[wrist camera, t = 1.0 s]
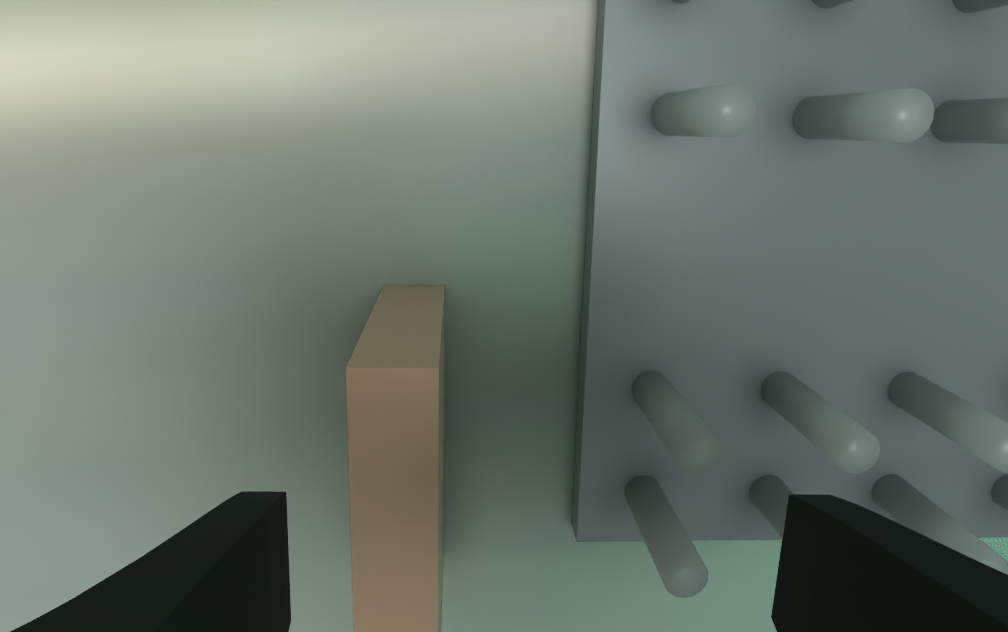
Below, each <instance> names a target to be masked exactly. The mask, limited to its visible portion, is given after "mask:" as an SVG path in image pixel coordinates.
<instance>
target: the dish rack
mask: <svg viewBox="0 0 1008 632" xmlns="http://www.w3.org/2000/svg"><path fill="white" fill-rule="evenodd" d="M789 494H806V495H833V496H836V497H839V498H842V499H844V500H847V501H850V502H852V503H855V504H857V505H859V506H862V507H864V508H866V509H869V510H871V511H873V512H875V513H878V514H880V515H882V516H884V517H886V518H888V519H891V520H893V521H895V522H897V523H899V524H901V525H903V526H905V527H907V528H909V529H912V530H914V531H916V532H918V533H920V534H922V535H924V536H926V537H928V538H930V539H932V540H935V541H937V542H939V543H941V544H943V545H945V546H947V547H949V548H951V549H953V550H955V551H958V552H960V553H962V554H964V555H966V556H968V557H970V558H972V559H975V560H977V561H979V562H981V563H983V564H985V565H988V566H990V567H992V568H994V569H996V570H998V571H1001V572H1003V573H1005V574H1007V575H1008V563H1007V561H1006V560H1005V559H1004V558H1003V557H1002V556H1001V555H999V554H998V553H997V552H995V551H994V550H993V549H992V548H990V547H989V546H988V545H987V544H985V543H984V542H983V541H982V540H980V539H979V538H978V537H1008V0H598V13H597V33H596V52H595V72H594V91H593V111H592V130H591V150H590V169H589V189H588V208H587V228H586V247H585V267H584V286H583V306H582V325H581V345H580V365H579V384H578V404H577V423H576V443H575V462H574V482H573V501H572V521H571V524H572V527H573V531H574V534H575V538H576V541H577V542H597V541H645V543H646V545H647V547H648V550H649V552H650V554H651V556H652V558H653V561H654V563H655V565H656V567H657V570H658V572H659V574H660V576H661V578H662V581H663V583H664V585H665V587H666V589H667V590H668V592H670V593H671V594H672V595H674V596H677V597H691V596H693V595H696V594H697V593H699V592H700V591H701V590H702V589H703V588H704V587H705V585H706V583H707V580H708V571H707V569H706V567H705V565H704V563H703V561H702V560H701V558H700V556H699V554H698V552H697V551H696V549H695V547H694V545H693V543H692V542H691V540H783V533H784V526H785V519H786V512H787V505H788V498H789Z"/></svg>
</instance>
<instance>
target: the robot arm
mask: <svg viewBox="0 0 1008 632" xmlns="http://www.w3.org/2000/svg"><path fill="white" fill-rule="evenodd" d="M771 618H772V620H773V623H774V625H775V627H776V630H777V632H1008V575H1007V574H1005V573H1003V572H1001V571H998V570H996V569H994V568H992V567H990V566H988V565H985V564H983V563H981V562H979V561H977V560H975V559H972V558H970V557H968V556H966V555H964V554H962V553H960V552H958V551H955V550H953V549H951V548H949V547H947V546H945V545H943V544H941V543H939V542H937V541H935V540H932V539H930V538H928V537H926V536H924V535H922V534H920V533H918V532H916V531H914V530H912V529H909V528H907V527H905V526H903V525H901V524H899V523H897V522H895V521H893V520H891V519H888V518H886V517H884V516H882V515H880V514H878V513H875V512H873V511H871V510H869V509H866V508H864V507H862V506H859V505H857V504H855V503H852V502H850V501H847V500H844V499H842V498H839V497H836V496H833V495H806V494H789V498H788V505H787V512H786V519H785V526H784V533H783V540H782V546H781V553H780V560H779V567H778V574H777V581H776V588H775V595H774V602H773V609H772V616H771ZM290 622H291V607H290V581H289V554H288V528H287V502H286V492H240V493H238V494H236V495H234V496H233V497H231V498H229V499H228V500H226V501H225V502H223V503H221V504H220V505H218V506H217V507H215V508H214V509H212V510H211V511H209V512H208V513H206V514H205V515H203V516H202V517H201V518H199V519H198V520H196V521H195V522H193V523H192V524H190V525H189V526H187V527H186V528H184V529H183V530H181V531H180V532H178V533H177V534H175V535H174V536H172V537H171V538H169V539H168V540H166V541H165V542H163V543H162V544H160V545H159V546H157V547H156V548H154V549H153V550H151V551H150V552H148V553H147V554H145V555H144V556H142V557H141V558H139V559H138V560H136V561H134V562H133V563H131V564H129V565H128V566H126V567H124V568H123V569H121V570H119V571H118V572H116V573H114V574H113V575H111V576H109V577H108V578H106V579H104V580H103V581H101V582H100V583H98V584H96V585H95V586H93V587H91V588H90V589H88V590H86V591H85V592H83V593H81V594H80V595H78V596H76V597H75V598H73V599H71V600H69V601H68V602H66V603H64V604H62V605H61V606H59V607H57V608H55V609H53V610H51V611H50V612H48V613H46V614H44V615H42V616H40V617H38V618H36V619H35V620H33V621H31V622H29V623H27V624H25V625H23V626H21V627H19V628H17V629H15V630H13V631H11V632H288V631H289V627H290Z"/></svg>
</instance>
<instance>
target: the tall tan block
mask: <svg viewBox="0 0 1008 632" xmlns="http://www.w3.org/2000/svg"><path fill="white" fill-rule="evenodd" d="M444 340H445V285H384V286H383V288H382V290H381V292H380V294H379V296H378V299H377V301H376V303H375V305H374V307H373V310H372V312H371V314H370V316H369V318H368V320H367V323H366V325H365V327H364V329H363V331H362V334H361V336H360V338H359V340H358V342H357V345H356V347H355V349H354V351H353V353H352V355H351V358H350V360H349V362H348V364H347V366H346V391H347V424H348V458H349V491H350V525H351V558H352V592H353V625H354V632H441V623H442V590H443V556H444Z"/></svg>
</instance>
